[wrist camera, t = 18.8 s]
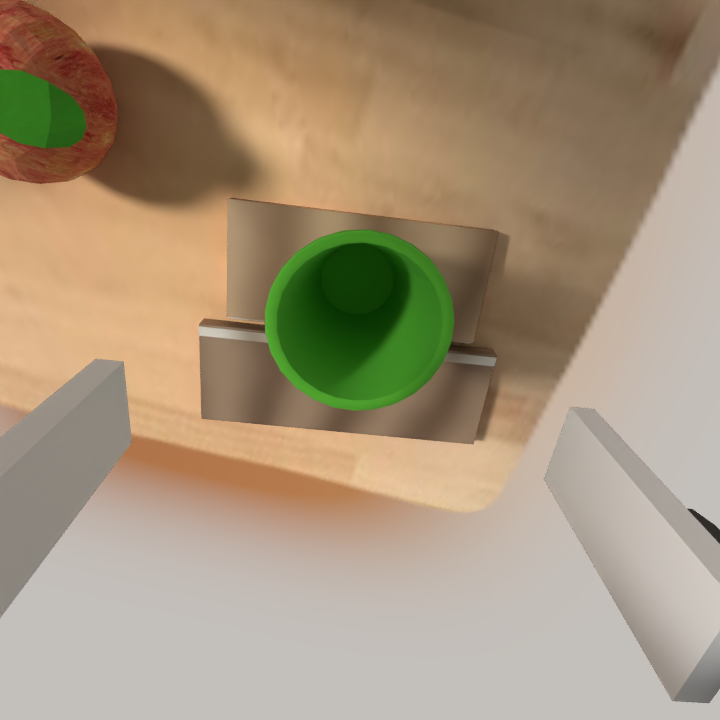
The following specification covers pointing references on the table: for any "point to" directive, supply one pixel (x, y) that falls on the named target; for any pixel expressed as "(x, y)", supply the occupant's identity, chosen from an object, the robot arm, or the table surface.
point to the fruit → (50, 99)
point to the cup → (359, 319)
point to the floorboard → (296, 409)
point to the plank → (304, 225)
